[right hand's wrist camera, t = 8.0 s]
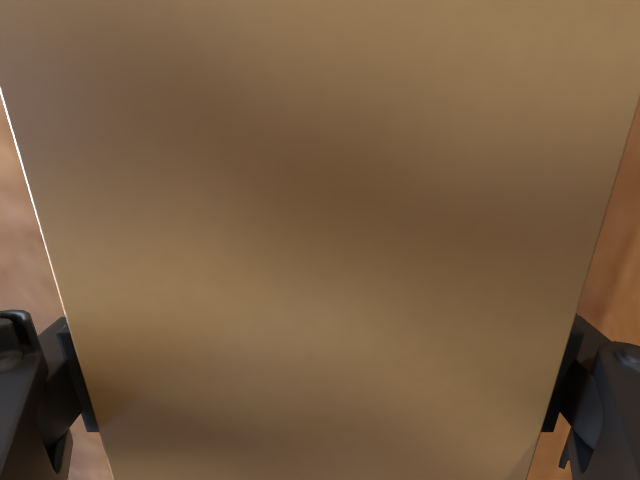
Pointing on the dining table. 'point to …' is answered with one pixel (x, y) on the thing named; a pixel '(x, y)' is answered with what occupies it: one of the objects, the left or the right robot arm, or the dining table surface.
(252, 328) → the thick board
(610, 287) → the dining table surface
